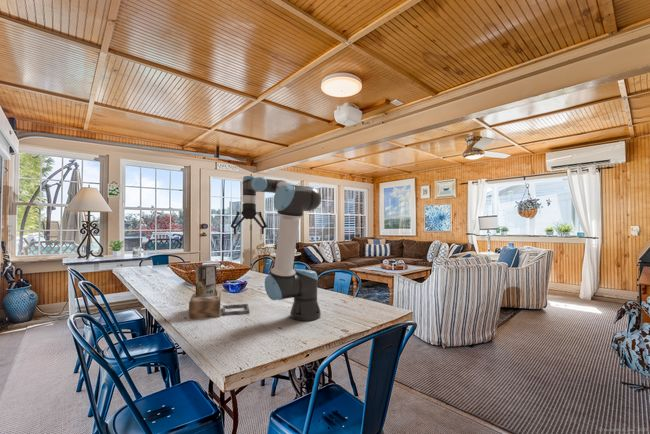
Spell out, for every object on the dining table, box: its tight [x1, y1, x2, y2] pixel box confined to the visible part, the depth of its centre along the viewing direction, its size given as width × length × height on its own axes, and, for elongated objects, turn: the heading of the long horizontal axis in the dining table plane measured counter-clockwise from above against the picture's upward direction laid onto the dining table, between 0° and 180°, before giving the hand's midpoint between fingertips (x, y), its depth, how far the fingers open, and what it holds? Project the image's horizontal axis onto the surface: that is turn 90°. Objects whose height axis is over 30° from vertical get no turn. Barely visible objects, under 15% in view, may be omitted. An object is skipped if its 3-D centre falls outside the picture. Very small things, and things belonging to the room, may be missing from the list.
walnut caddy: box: [188, 290, 250, 320], centre depth 163 cm, size 28×18×10 cm, turn 107°
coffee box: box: [195, 264, 217, 298], centre depth 161 cm, size 9×6×16 cm
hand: (248, 240), depth 180 cm, fingers open, 13 cm apart
